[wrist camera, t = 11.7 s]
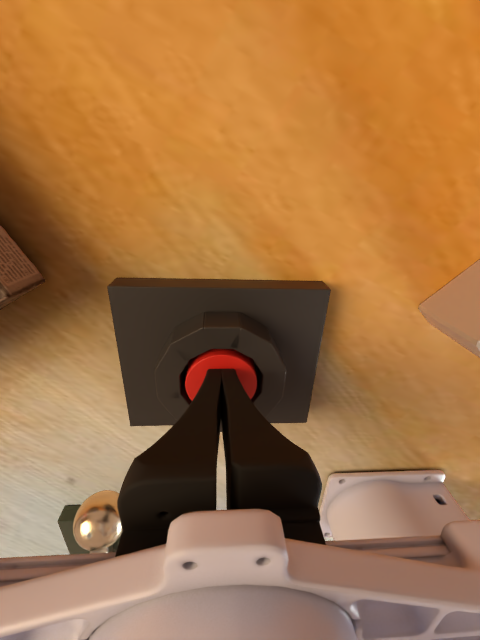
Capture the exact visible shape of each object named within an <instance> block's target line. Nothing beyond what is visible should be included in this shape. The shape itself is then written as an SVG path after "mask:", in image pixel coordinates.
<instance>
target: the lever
mask: <svg viewBox="0 0 480 640" xmlns="http://www.w3.org/2000/svg"><path fill="white" fill-rule="evenodd" d="M118 497H119V493H117V492H115V491H111V490H104V491H100V492H97V493H95V494H93V495H91V496H90V497H89V498H87V499H86V500H85V501H84V502H83V503H82V505H81V506H80V507H79V509H78V511H77V513H76V515H75V518H74V523H73V534H74V537H75V540H76V542H77V543H78V544H79V545H80V546H81V547H82V548H84V549H86V550H88V551H90V553H109V552H113V544H114V543H115V542H116V541H117V540H118V539H119V538H120V536H121V533H122V526H121V521H120V517H119V513H118V508H117V500H118Z"/></svg>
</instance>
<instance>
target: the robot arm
mask: <svg viewBox="0 0 480 640" xmlns="http://www.w3.org/2000/svg"><path fill="white" fill-rule="evenodd" d="M221 423H222V433H223V442H224V451H225V460H226V493H227V510H216V469H217V455H218V445H219V435H220V424H221ZM444 479H445V474H444V473H443V472H442V471H441V470H420V471H390V472H360V473H334V474H331V475H330V476H329V477H328V480H327V484H326V488H325V492H324V496H323V500H322V504H321V508H320V512H319V510H318V507H317V506H318V502H319V498H320V494H321V490H322V483H321V479H320V476H319V473H318V471H317V469H316V467H315V465H314V463H313V461H312V459H311V457H310V455H309V454H308V453H307V452H306V451H304V450H303V449H301V448H300V447H298V446H297V445H295V444H294V443H292V442H291V441H290V440H288V439H287V438H286V437H284V436H283V435H282V434H281V433H280V432H279V431H278V430H277V429H276V428H274V427H273V426H272V425H271V424H270V423H269V422H268V421H267V419H266V418H265V417H264V416H263V415H262V414H261V413H260V411H259V410H258V409H257V408H256V406H255V405H254V403H253V402H252V401H251V399H250V398H249V396H248V395H247V393H246V391H245V390H244V388H243V386H242V384H241V382H240V380H239V378H238V376H237V373H236V370H235V369H208V370H207V372H206V376H205V378H204V381H203V383H202V385H201V387H200V389H199V390H198V392H197V394H196V396H195V397H194V399H193V401H192V402H191V404H190V405H189V407H188V408H187V410H186V411H185V412H184V414H183V415H182V416H181V417H180V419H179V420H178V421H177V422H176V423H175V424H174V425H173V426H172V428H171V429H170V430H169V431H168V432H167V433H166V434H165V435H163V436H162V437H161V438H160V439H159V440H158V441H157V442H156V443H155V444H153V445H152V446H151V447H150V448H148V449H147V450H146V451H144V452H143V453H142V454H140V455H139V456H138V457H136V458H135V459H134V461H133V463H132V465H131V466H130V468H129V470H128V472H127V475H126V477H125V479H124V481H123V484H122V487H121V490H120V493H119V497H118V500H117V508H118V513H119V517H120V521H121V526H122V533H121V537H120V541H119V544H118V548H117V552H109V553H89V554H70V555H51V556H32V557H13V558H0V640H480V520H470V519H469V518H468V517H467V515H466V514H465V513H464V511H463V510H462V509H461V507H460V506H459V504H458V503H457V502H456V500H455V499H454V498H453V496H452V495H451V494H450V492H449V491H448V490H447V488H446V487H445V486H444V484H443V483H442V482H443V481H444ZM324 537H333V539H334V541H325V540H324Z"/></svg>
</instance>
